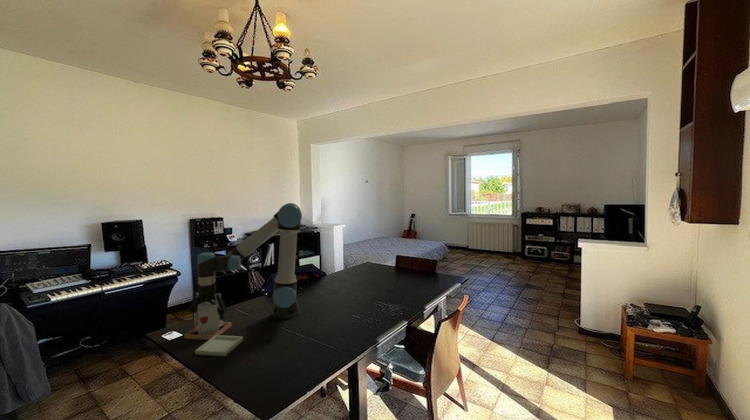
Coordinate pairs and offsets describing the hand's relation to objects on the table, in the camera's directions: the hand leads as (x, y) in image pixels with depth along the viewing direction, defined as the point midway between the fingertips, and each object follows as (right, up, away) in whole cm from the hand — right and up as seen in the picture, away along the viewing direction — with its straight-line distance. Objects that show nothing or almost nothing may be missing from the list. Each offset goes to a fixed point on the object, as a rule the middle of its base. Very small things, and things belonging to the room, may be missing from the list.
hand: (208, 325), depth 152 cm
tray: (+13, -4, -14) cm, 20 cm away
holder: (0, -3, 0) cm, 3 cm away
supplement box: (0, -4, 0) cm, 4 cm away
